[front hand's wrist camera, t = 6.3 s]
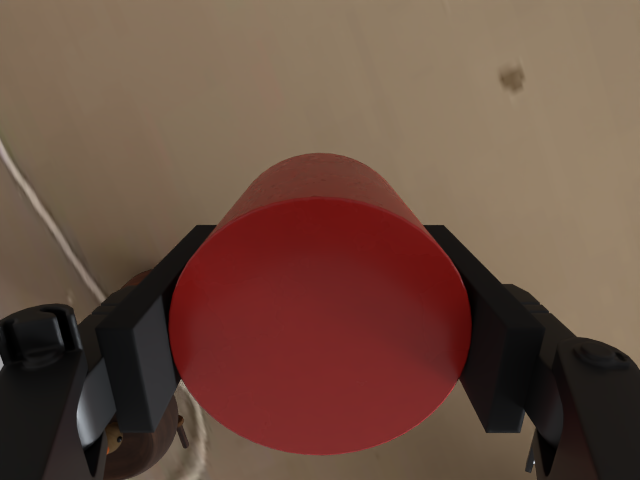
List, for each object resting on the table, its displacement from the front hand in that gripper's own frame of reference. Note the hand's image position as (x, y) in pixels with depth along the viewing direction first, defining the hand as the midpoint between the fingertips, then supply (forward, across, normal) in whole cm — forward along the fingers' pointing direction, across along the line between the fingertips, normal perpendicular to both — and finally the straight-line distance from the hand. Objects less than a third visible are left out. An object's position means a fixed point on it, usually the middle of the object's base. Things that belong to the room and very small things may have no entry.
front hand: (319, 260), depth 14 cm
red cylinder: (+2, 0, 0) cm, 2 cm away
